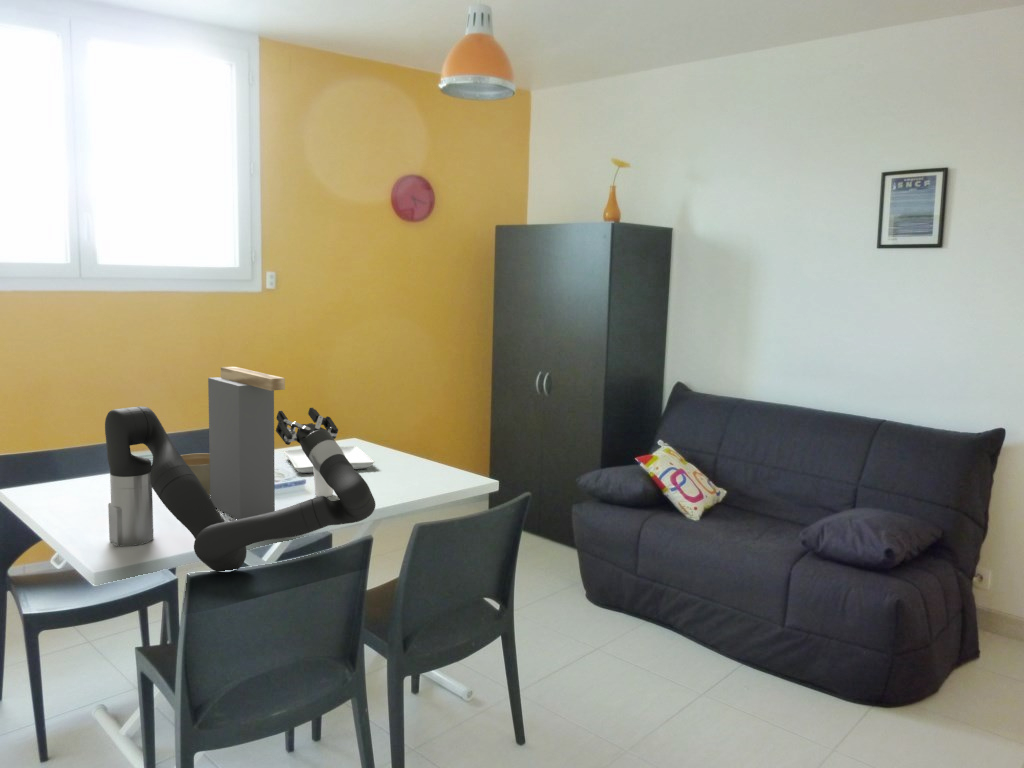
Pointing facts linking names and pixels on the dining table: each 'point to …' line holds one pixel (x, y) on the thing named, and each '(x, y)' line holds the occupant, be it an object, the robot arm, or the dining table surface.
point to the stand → (241, 448)
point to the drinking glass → (321, 485)
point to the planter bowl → (200, 467)
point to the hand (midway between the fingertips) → (294, 411)
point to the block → (253, 378)
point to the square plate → (351, 452)
